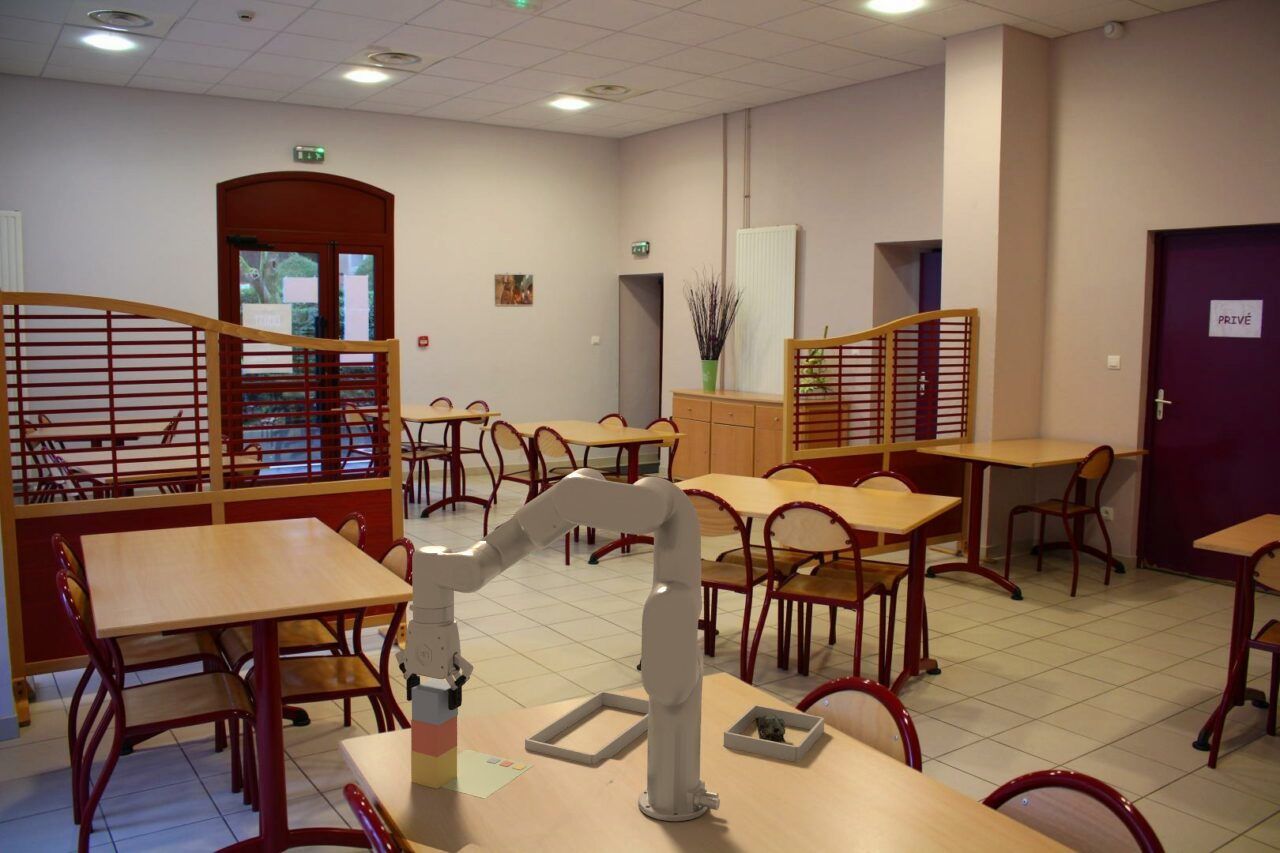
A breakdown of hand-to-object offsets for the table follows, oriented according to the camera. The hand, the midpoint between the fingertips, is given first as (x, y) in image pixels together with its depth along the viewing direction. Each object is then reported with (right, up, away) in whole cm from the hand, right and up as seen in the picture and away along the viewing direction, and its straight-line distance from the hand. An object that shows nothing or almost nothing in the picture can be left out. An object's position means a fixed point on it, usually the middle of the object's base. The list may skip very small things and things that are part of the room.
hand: (434, 703), depth 187 cm
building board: (+7, -16, +4) cm, 18 cm away
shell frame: (+67, -15, +25) cm, 73 cm away
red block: (0, -9, +1) cm, 9 cm away
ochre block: (0, -15, +1) cm, 15 cm away
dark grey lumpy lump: (+66, -15, +29) cm, 73 cm away
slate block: (0, -3, 0) cm, 3 cm away
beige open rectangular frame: (+30, -14, +27) cm, 42 cm away
